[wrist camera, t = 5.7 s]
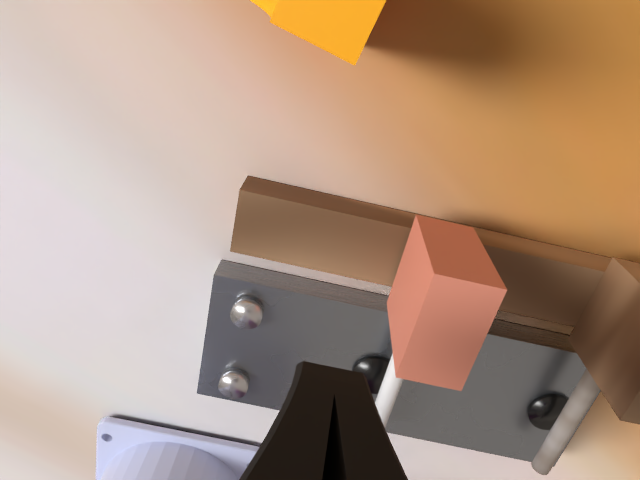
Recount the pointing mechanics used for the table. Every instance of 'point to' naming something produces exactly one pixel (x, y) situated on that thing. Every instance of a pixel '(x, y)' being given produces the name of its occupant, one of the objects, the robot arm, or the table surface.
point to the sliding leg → (438, 308)
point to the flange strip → (381, 361)
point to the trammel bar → (506, 255)
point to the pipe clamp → (327, 22)
